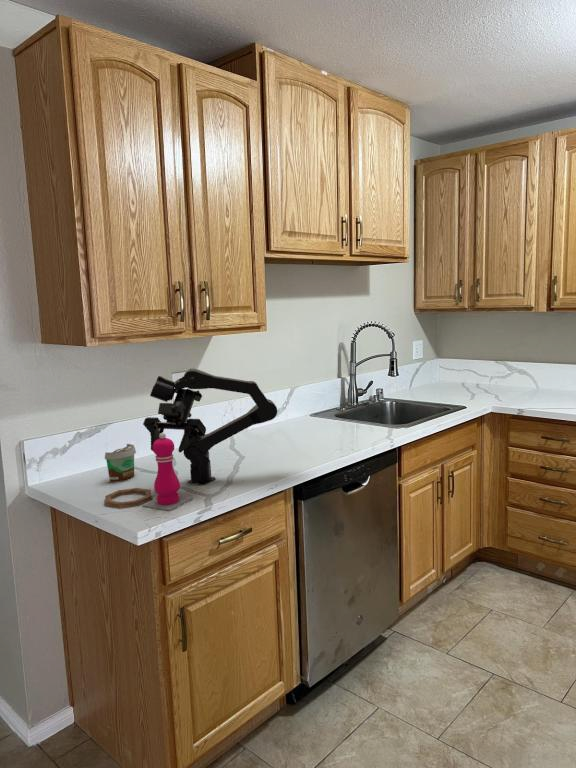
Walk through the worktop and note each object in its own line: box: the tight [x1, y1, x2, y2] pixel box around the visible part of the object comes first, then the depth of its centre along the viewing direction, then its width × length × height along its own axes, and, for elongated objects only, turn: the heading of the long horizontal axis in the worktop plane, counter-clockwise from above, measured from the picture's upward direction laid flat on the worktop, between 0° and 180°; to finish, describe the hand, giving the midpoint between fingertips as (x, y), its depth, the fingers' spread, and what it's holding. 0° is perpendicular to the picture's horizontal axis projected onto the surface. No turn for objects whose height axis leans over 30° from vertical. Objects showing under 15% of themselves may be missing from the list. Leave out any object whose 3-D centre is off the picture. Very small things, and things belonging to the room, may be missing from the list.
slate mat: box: [141, 495, 194, 512], centre depth 170 cm, size 10×10×1 cm
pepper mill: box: [152, 432, 181, 505], centre depth 168 cm, size 7×7×20 cm
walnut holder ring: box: [104, 487, 153, 509], centre depth 174 cm, size 13×13×1 cm
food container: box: [104, 443, 137, 483], centre depth 195 cm, size 12×6×10 cm, turn 158°
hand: (165, 451), depth 174 cm, fingers open, 9 cm apart
